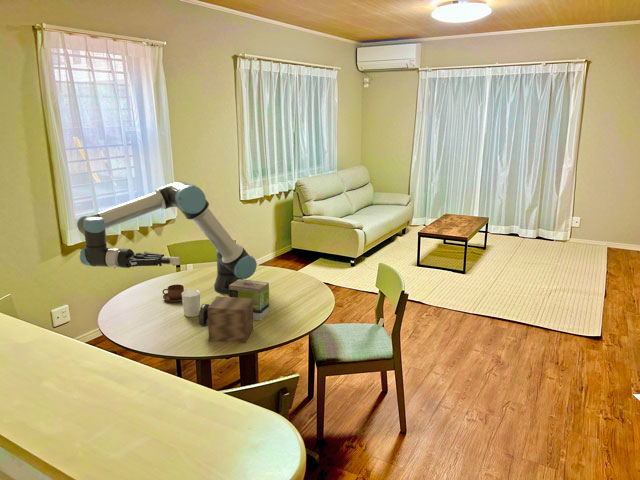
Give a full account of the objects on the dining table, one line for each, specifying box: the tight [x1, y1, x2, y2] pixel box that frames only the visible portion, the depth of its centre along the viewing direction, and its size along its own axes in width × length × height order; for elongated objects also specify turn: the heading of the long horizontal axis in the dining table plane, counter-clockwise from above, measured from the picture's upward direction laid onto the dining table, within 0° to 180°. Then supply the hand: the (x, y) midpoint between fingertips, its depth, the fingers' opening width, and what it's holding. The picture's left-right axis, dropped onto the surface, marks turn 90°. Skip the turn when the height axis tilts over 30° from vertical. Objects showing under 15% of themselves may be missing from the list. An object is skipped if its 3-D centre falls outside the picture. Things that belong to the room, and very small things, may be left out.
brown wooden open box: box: [207, 296, 254, 344], centre depth 191 cm, size 15×12×14 cm
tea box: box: [228, 279, 270, 322], centre depth 211 cm, size 15×10×15 cm
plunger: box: [198, 303, 210, 328], centre depth 191 cm, size 16×9×9 cm, turn 85°
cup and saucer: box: [162, 284, 185, 303], centre depth 228 cm, size 12×12×6 cm
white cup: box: [181, 289, 201, 318], centre depth 210 cm, size 8×8×10 cm
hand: (178, 260), depth 187 cm, fingers closed
